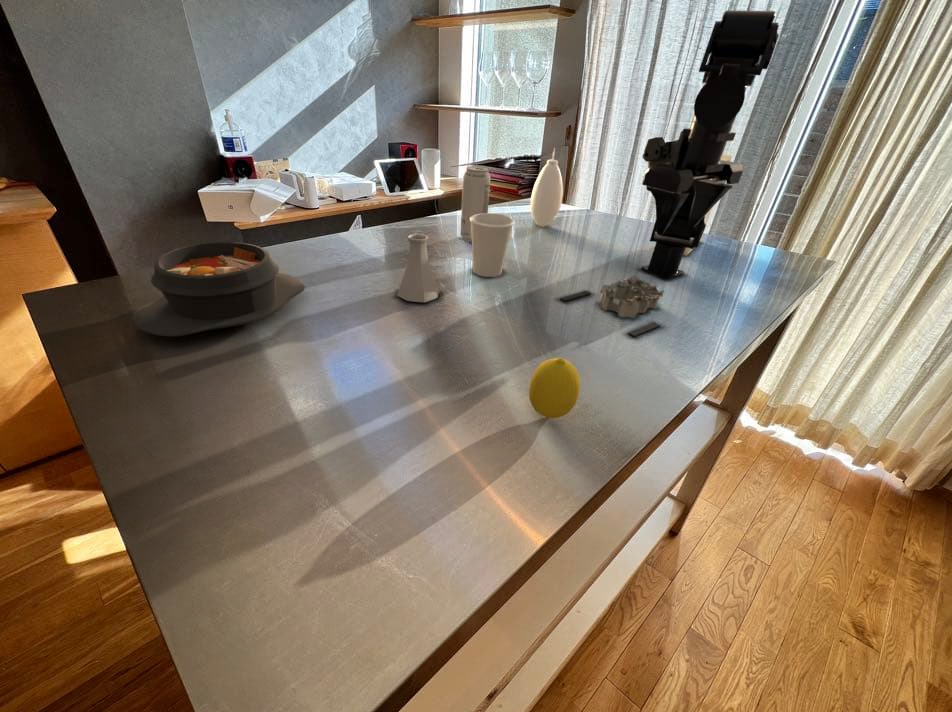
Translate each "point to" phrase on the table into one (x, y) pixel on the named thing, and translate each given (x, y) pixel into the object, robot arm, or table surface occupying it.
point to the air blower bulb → (547, 194)
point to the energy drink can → (474, 197)
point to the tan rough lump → (629, 296)
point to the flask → (418, 273)
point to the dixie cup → (490, 242)
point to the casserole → (214, 289)
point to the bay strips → (632, 333)
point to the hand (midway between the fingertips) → (675, 230)
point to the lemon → (554, 388)
